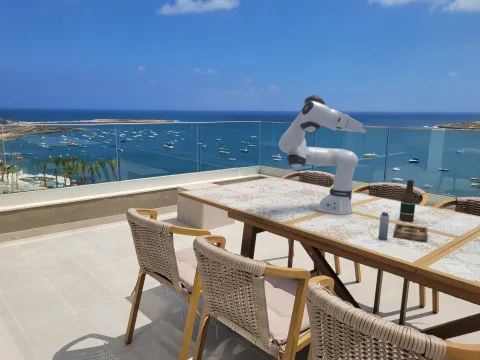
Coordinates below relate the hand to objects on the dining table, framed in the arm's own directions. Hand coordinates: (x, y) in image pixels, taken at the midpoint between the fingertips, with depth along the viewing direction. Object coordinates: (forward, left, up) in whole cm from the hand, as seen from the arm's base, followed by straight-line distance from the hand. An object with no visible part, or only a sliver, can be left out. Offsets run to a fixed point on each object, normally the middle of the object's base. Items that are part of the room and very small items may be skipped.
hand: (359, 131), depth 174 cm
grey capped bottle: (+15, +3, -52) cm, 54 cm away
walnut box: (+27, +16, -52) cm, 61 cm away
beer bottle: (+24, +46, -52) cm, 73 cm away
